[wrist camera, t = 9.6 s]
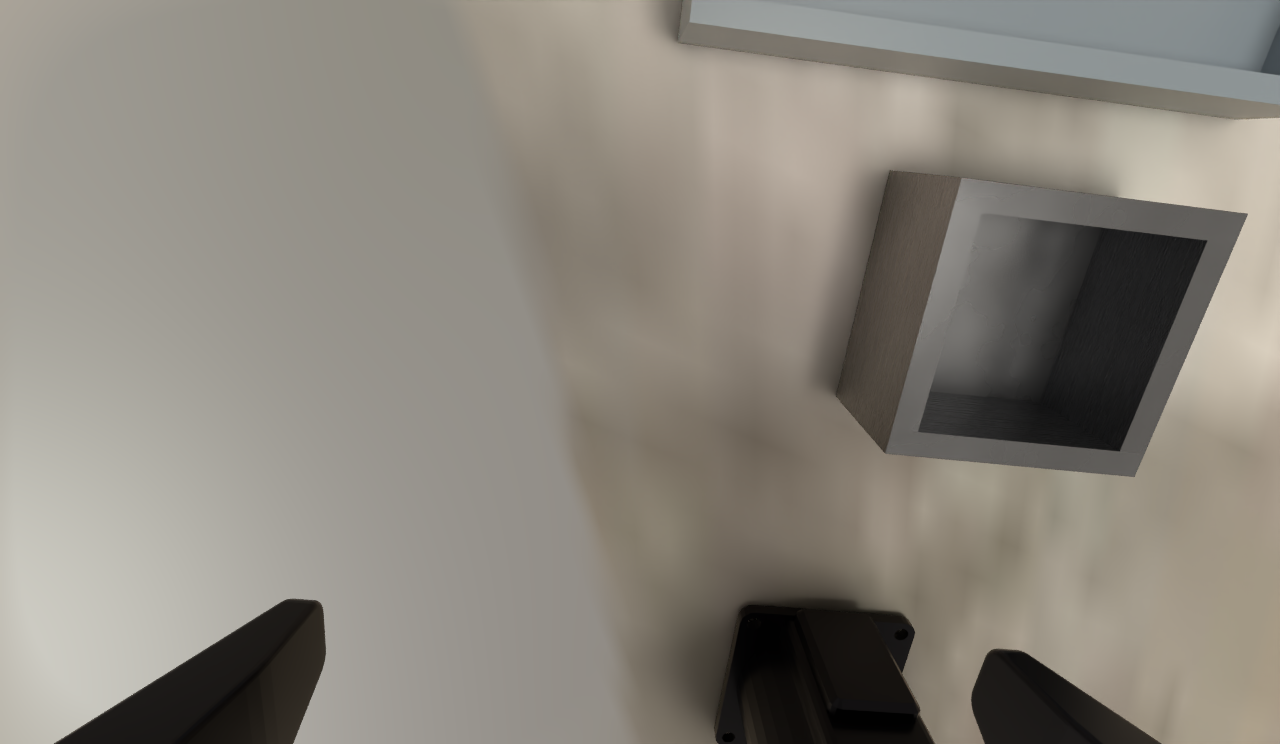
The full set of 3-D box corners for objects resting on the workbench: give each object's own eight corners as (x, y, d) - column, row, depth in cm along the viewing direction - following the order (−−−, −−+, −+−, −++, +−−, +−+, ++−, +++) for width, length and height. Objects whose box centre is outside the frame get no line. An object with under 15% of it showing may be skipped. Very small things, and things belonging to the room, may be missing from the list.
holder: (1041, 416, 21) (1134, 476, 17) (835, 396, 20) (885, 453, 17) (1120, 199, 19) (1248, 213, 15) (890, 170, 18) (961, 177, 14)
